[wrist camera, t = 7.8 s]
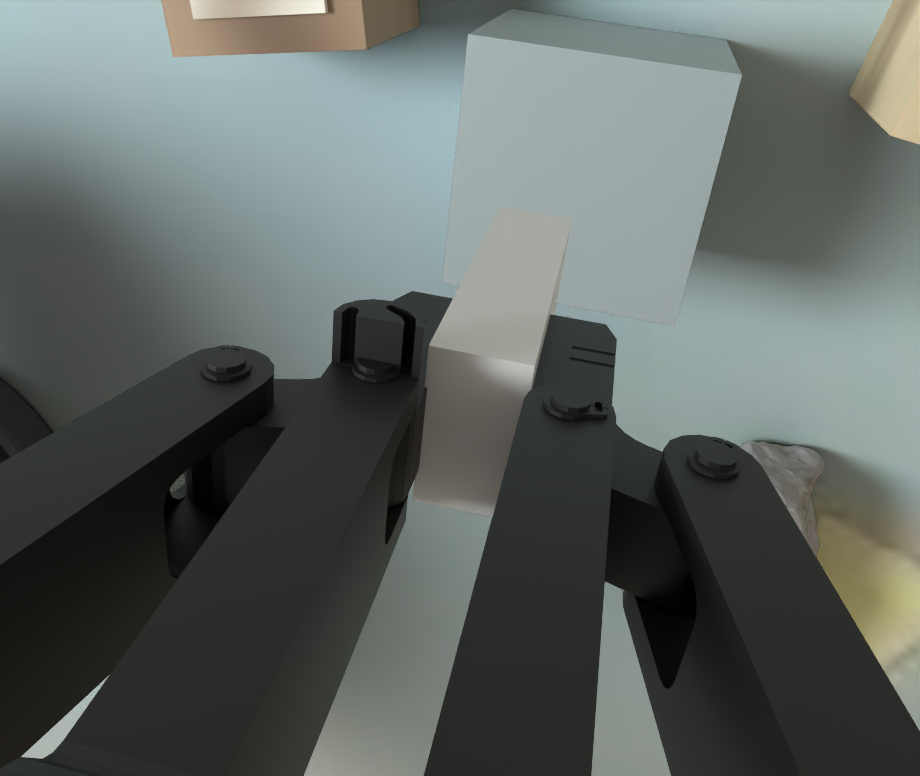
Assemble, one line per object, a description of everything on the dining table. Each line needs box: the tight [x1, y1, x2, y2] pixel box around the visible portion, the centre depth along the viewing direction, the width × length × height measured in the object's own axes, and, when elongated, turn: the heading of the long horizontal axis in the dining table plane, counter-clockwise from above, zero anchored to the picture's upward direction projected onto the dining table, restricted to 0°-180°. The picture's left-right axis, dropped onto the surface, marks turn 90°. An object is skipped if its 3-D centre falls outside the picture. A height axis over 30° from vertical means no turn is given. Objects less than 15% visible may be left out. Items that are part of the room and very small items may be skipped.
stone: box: [621, 441, 824, 593], centre depth 33 cm, size 10×8×6 cm
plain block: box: [442, 9, 742, 326], centre depth 26 cm, size 7×7×7 cm
